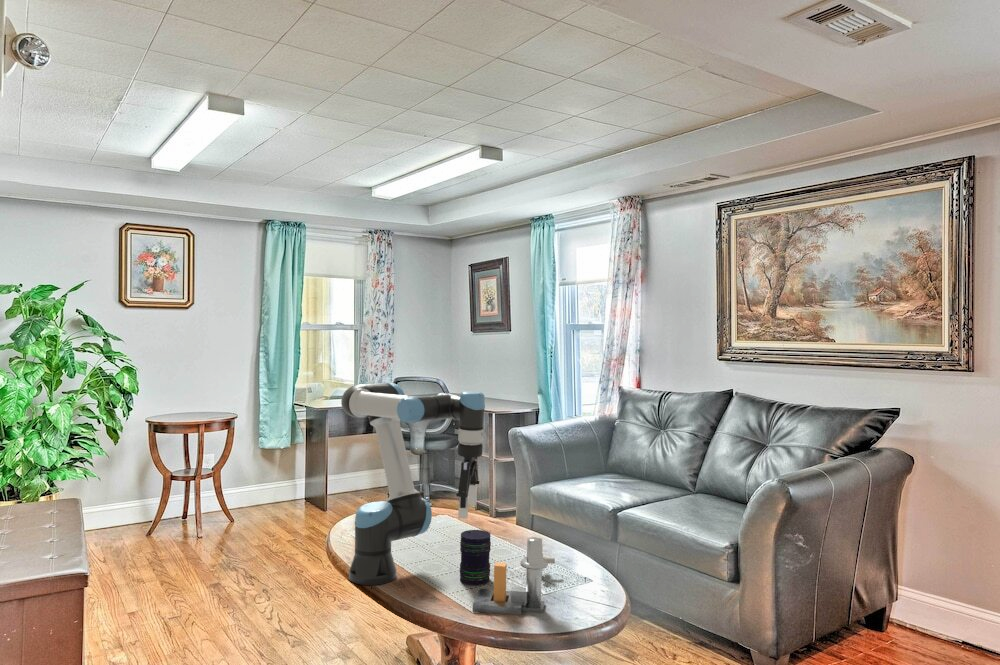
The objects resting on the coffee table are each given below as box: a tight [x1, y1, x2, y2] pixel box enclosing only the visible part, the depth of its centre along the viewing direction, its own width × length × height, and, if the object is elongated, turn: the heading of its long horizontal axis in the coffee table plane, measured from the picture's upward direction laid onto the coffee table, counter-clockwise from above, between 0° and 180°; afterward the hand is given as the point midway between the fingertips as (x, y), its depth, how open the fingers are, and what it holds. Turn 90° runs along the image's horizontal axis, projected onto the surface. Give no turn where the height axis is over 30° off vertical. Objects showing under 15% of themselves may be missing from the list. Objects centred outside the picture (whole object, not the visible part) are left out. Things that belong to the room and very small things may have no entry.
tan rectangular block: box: [493, 561, 508, 602], centre depth 206 cm, size 3×3×12 cm
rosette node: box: [472, 536, 549, 616], centre depth 205 cm, size 21×12×20 cm, turn 81°
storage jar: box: [459, 529, 492, 587], centre depth 225 cm, size 10×10×15 cm
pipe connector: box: [523, 544, 556, 565], centre depth 231 cm, size 10×10×10 cm
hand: (467, 511), depth 213 cm, fingers open, 13 cm apart
